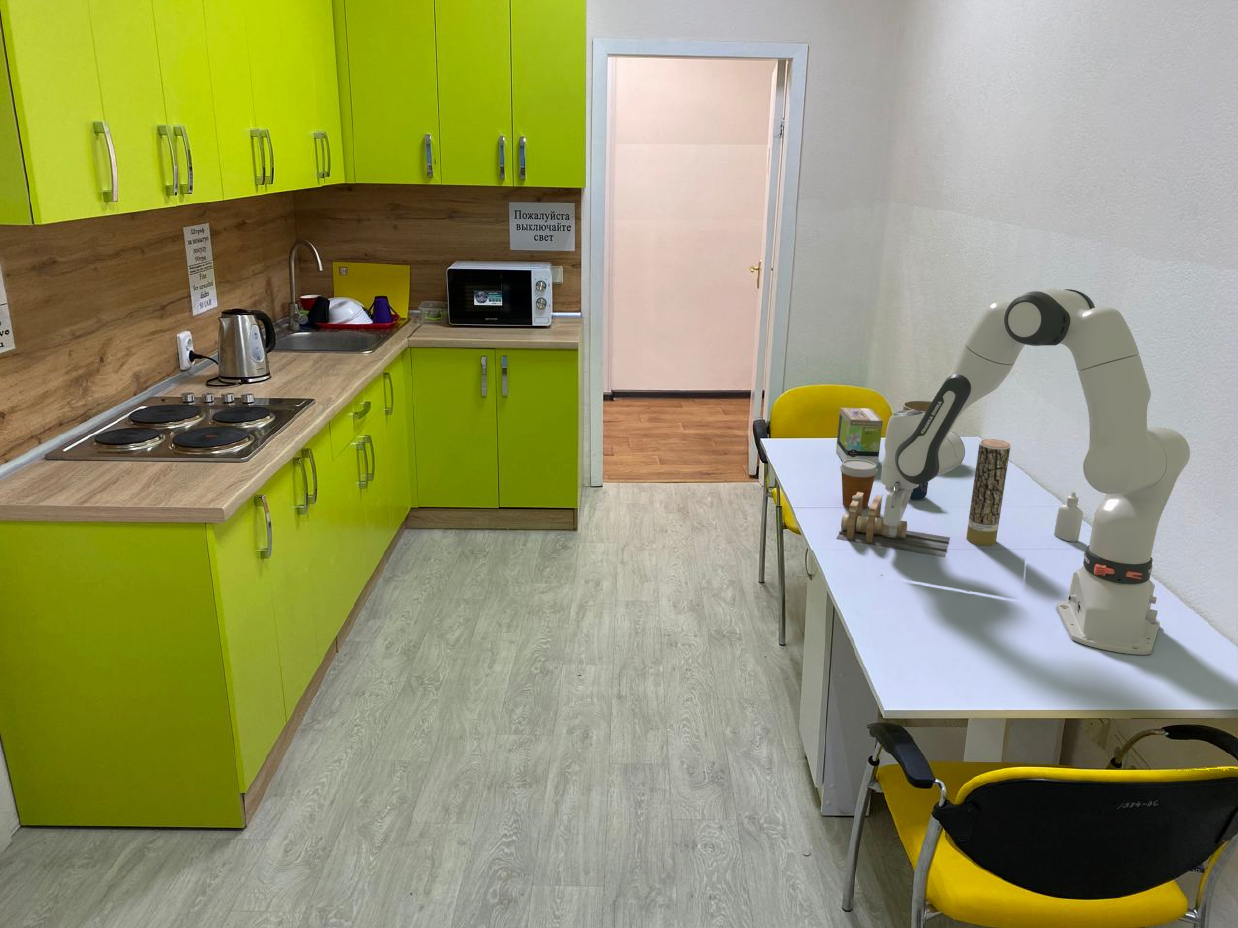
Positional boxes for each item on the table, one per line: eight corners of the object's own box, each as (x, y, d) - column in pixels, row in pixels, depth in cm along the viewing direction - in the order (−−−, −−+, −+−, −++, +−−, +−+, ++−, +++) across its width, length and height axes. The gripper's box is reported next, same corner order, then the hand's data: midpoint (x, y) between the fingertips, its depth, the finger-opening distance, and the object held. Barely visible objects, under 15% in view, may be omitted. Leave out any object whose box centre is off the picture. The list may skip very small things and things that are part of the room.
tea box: (878, 468, 284) (884, 420, 279) (845, 467, 284) (849, 419, 280) (867, 452, 298) (871, 407, 294) (834, 452, 298) (839, 406, 294)
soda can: (925, 502, 256) (931, 460, 252) (899, 499, 258) (903, 457, 254) (926, 494, 262) (931, 452, 259) (900, 491, 264) (905, 450, 261)
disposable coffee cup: (859, 516, 246) (863, 472, 242) (829, 506, 252) (832, 463, 249) (880, 508, 252) (885, 465, 248) (850, 498, 258) (854, 456, 255)
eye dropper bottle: (1068, 533, 237) (1076, 488, 233) (1080, 542, 231) (1088, 496, 228) (1051, 533, 236) (1059, 488, 233) (1062, 542, 231) (1071, 496, 227)
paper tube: (997, 549, 227) (1013, 448, 219) (967, 546, 228) (982, 446, 220) (993, 538, 233) (1007, 440, 225) (964, 535, 234) (977, 438, 226)
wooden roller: (906, 535, 231) (907, 519, 230) (904, 540, 227) (905, 524, 226) (843, 527, 237) (844, 512, 236) (840, 532, 233) (841, 516, 232)
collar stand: (944, 559, 220) (949, 520, 217) (835, 541, 230) (839, 503, 227) (949, 539, 232) (954, 502, 229) (846, 523, 241) (849, 486, 238)
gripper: (908, 491, 215) (902, 548, 220) (919, 466, 233) (913, 519, 238) (880, 487, 218) (874, 543, 222) (892, 462, 236) (887, 515, 240)
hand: (894, 530), depth 230 cm, fingers closed on wooden roller, 4 cm apart
